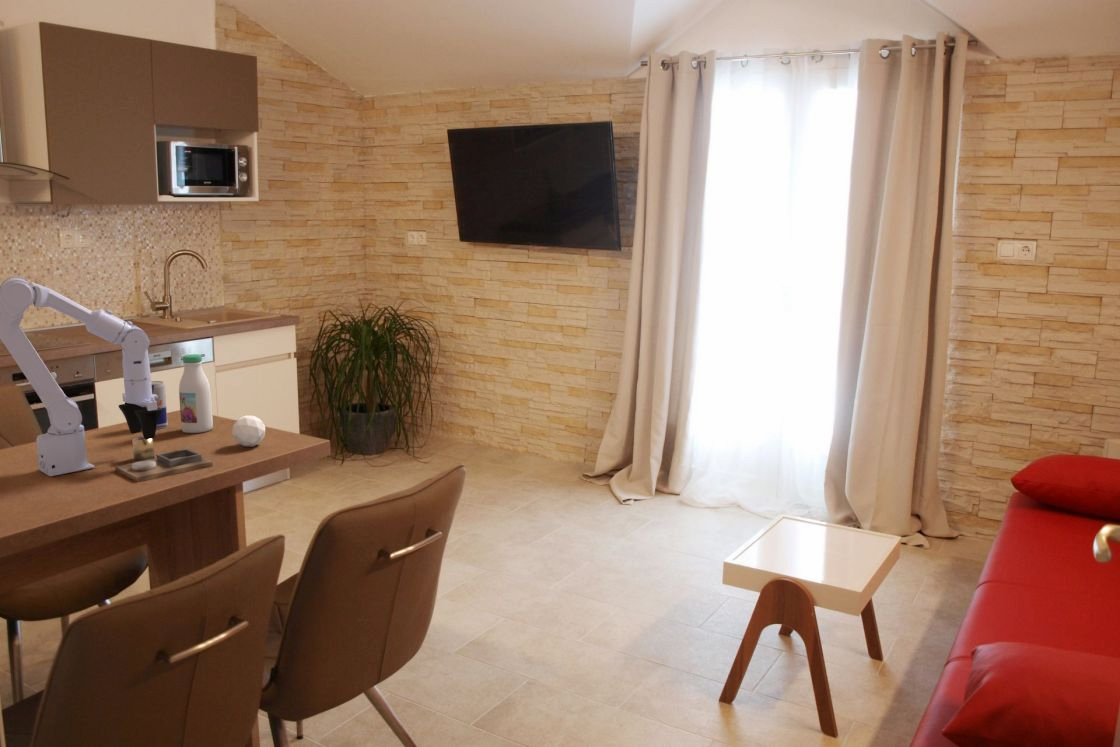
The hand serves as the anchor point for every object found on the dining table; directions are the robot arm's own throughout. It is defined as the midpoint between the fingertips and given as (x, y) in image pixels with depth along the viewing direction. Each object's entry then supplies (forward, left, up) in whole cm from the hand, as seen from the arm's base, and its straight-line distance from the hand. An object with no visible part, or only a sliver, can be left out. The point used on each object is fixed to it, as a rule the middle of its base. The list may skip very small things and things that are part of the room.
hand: (142, 435), depth 218 cm
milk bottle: (+21, +17, -6) cm, 28 cm away
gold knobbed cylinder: (0, 0, -6) cm, 6 cm away
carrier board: (0, -11, -6) cm, 12 cm away
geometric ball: (+23, -7, -6) cm, 25 cm away
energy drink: (+15, +28, -6) cm, 32 cm away
